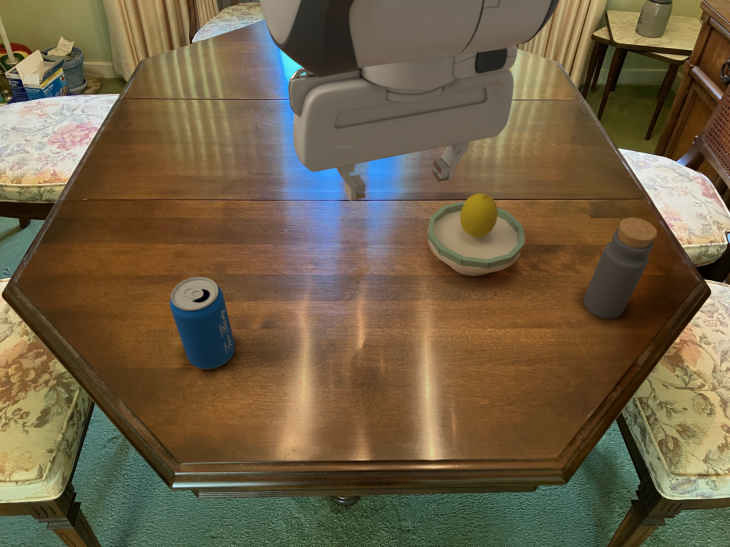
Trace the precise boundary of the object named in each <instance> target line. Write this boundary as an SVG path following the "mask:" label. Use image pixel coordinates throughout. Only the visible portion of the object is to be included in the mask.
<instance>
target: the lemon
mask: <svg viewBox="0 0 730 547" xmlns="http://www.w3.org/2000/svg"><path fill="white" fill-rule="evenodd" d="M464 201H465V203H464V205H463V207H462V210H461V214H460V222H461V225H462V228H463V229H464V231H465V232H466V233H467V234H469V235H471V236H474V237H482V236H485V235H487V234H488V233H490V232H491V231H492V229H493V228H494V226H495V224H496V221H497V215H498V211H497V207H498V206H497V202H496V201H495V199H494V198H493V197H492V196H490V195H488V194H486V193H480V192H479V193H475V194H472V195H470V196H469V197H468V198H467V199H466V200H464Z"/></svg>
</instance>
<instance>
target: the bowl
mask: <svg viewBox="0 0 730 547" xmlns="http://www.w3.org/2000/svg"><path fill="white" fill-rule="evenodd" d="M465 201H466V200H462V201H458V202H453V203H449V204H445V205H443V206H441V208H439V209H438V210H437V211H436V212H434V213H433V214H432V215H431V216H430V217H429V222H428V228H427V234H426V236H427V237H426V241H427V244H428V247H429V249H430V251H431V252H432V253H433V254H434V255H435V257H437V258H438V259H439V260H440V261H442V262H443V263H444V264H446V265H448V266H449V267H450V268H451V269H453V271H456V272H457V273H459V274H462V275H464V276H465V275H466V276H469V277H470V276H471V277H478V276H483V275H486V274H488V273H489V274H490V273H496V272H499V271H502V270H505V269H508V268H510V267H511V266H512V265H514V264H515V263H516V262H517V260H519V258H520V256H521V255H522V251H523V250H524V248H525V244H526V239H525V228H524V226H523V225H522V224H521V223H520V221H518V219H517V218H516V217H515V216H514V215H513V214H512V213H511V212H509V211H508V210H505V209H503V208H500V207H499V206H497V211H498V215H497V221H496V224H495V226H494V228H493V229H492V231H491V232H490V233H488V234H487V235H485V236H482V237H474V236H471V235H469V234H467V233H466V232H465V231H464V229H463V228H462V225H461V222H460V214H461V210H462V207H463V205H464V203H465Z"/></svg>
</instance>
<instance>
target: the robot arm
mask: <svg viewBox="0 0 730 547" xmlns="http://www.w3.org/2000/svg"><path fill="white" fill-rule="evenodd" d="M258 1H259V5H260V8H261V13H262V15H263V18H264V21H265V24H266V28H267V29H268V33H269V36H270V38H271V40H272V42H273V43H274V45H275V46H276V47H277V48H278V49H279V50H280V51H282V53H284V54H285V55H286V56H287V57H288V58H290V59H291V60H292V61H293V62H294V63H295V64H297V65H299V66H300V68H298V69H297V70H296V71H295V72H294V73H293V74H292V75H291V77H290V78H289V80H288V88H287V89H288V90H287V91H288V102H289V107H290V109H291V111H292V112H293V124H292V126H293V128H292V131H293V133H292V137H293V138H292V139H293V148H294V152H295V154H296V157H297V158H298V160H299V161H300V163H301V164H302V165H303V167H305V168H306V169H307V170H308V171H310V172H313V173H316V172H322V171H327V170H333V169H336V171H337V172H338V174H339V175H340V177H341V178H342V179H343V181H344V191H345V195H346V196H347V198H348V200H349V201H350V202H352V201H357V200H361V199H365V198H366V186H367V185H366V183H365V181H364V180H362V177H361V175H360V174H354V175H351V174H352V173H355V171H356V169H355V167H356V165H358V164H363V163H368V162H374V161H378V160H383V159H388V158H393V157H399V156H403V155H404V156H405V155H409V154H414V153H418V152H423V151H424V152H425V151H429V150H430V151H431V150H434V149H440V148H444V147H446V149H444V151H443V153H442V155H441V157H439V158H434V159H433V168H432V175H433V177H434V178H435V179H436V181H437V182H438V183H441V182H444V181H445V182H446V181H450V180H453V178H454V175H455V167H456V166H457V165H458V164H459V162H460V161H461V160H462V158H463V157H464V156H465V154H466V153H467V152H468V150H469V144H470V142H475V141H480V140H485V139H490V138H495V137H497V136H499V135H500V134H501V132H503V130H504V129H505V128H506V127H507V125H508V122H509V120H510V114H511V109H512V102H513V97H514V95H513V94H514V86H515V82H514V81H515V80H514V79H515V78H514V75H513V73H512V71H511V70H510V69H511V68H512V67H513V66H514V65H515V63H516V60H517V57H518V46H517V45H523V44H526V43H529V42H530V41H532V40H533V39H534V38H535V37H536V36H537V35H538V34H539V33H540V32H541V31H542V30H543V28H544V27H545V26H546V25H547V24H548V22H549V21H550V19H551V18H552V16H553V14H554V12H555V11H556V9H557V7H558V5H559V3H560V0H258Z"/></svg>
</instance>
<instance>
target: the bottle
mask: <svg viewBox="0 0 730 547" xmlns="http://www.w3.org/2000/svg"><path fill="white" fill-rule="evenodd" d="M657 235H658V230H657V228H656V227H655V226H654V225H653V224H652V223H651V222H649V221H647V220H645V219H642V218H639V217H626V218H623V219H622V220H620V222H619V226H618V228H617V229H616V230H614V232H613V235H612V237H611V241H609V242H607V244H606V245H605V247H604V248H603V251H602V252H601V255H600V258H599V260H598V262H597V265H596V267H595V269H594V272H593V275H592V276H591V279H590V282H589V284H588V286H587V289H586V291H585V294H584V296H583V305H584V307H585V309H587V311H588V312H589V313H591V314H592V315H594V316H596V317H598V318H601V319H605V320H607V319H608V320H611V319H616V318H618V317H620V316H621V315H622V314H623V313H624V311H625V308H626V306H627V305H628V303H629V301H630V299H631V297H632V295H633V293H634V292H635V289H636V287H637V285H638V283H639V281H640V280H641V277H642V275H643V274H644V271H645V270H646V268H647V265H648V263H649V254H650V253H651V251H652V249H653V247H654V240H655V238H656V237H657Z"/></svg>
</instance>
